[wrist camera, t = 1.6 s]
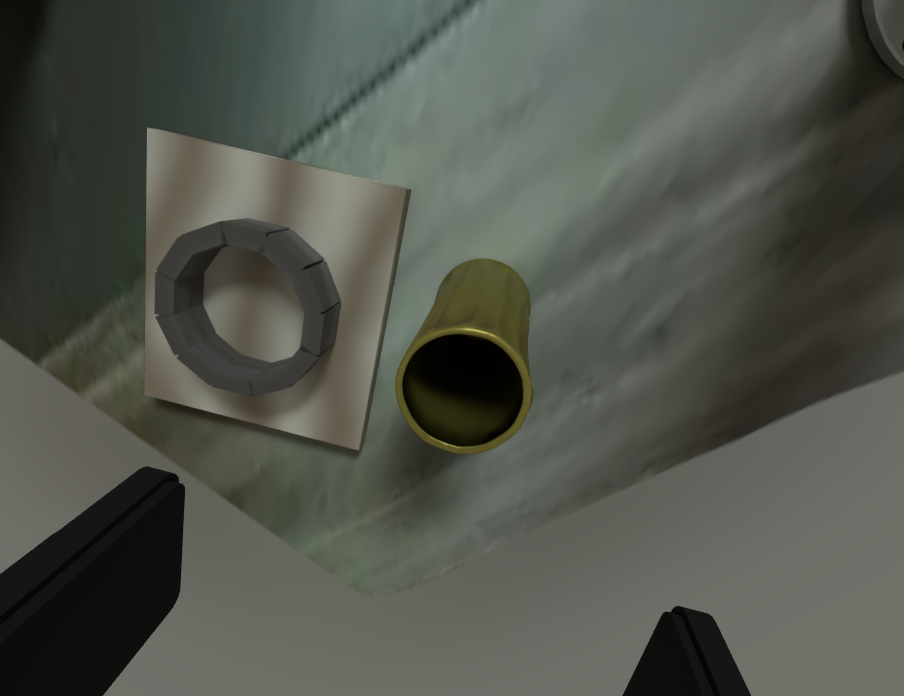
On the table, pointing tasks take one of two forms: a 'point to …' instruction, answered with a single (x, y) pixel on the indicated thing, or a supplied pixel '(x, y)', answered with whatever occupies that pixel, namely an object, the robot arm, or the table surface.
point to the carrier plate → (267, 286)
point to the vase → (470, 361)
